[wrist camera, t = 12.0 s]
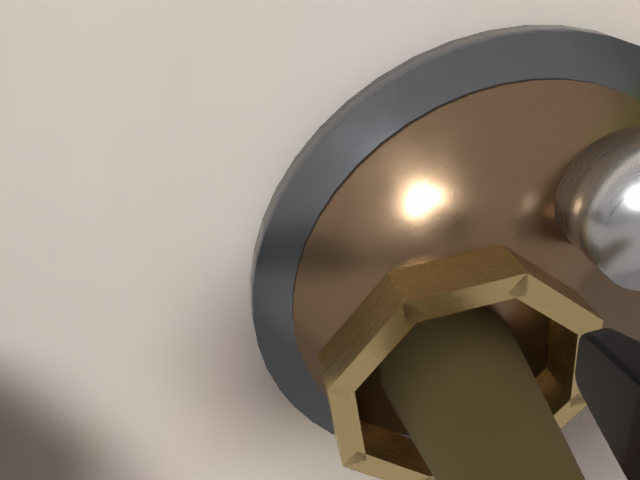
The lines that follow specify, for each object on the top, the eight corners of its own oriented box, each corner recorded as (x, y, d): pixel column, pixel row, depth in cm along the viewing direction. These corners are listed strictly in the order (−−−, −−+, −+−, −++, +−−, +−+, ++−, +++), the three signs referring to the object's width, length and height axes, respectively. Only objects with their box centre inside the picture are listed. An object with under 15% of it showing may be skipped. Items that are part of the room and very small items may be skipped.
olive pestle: (493, 409, 27) (649, 679, 18) (369, 417, 26) (468, 713, 16) (531, 305, 24) (743, 564, 15) (394, 307, 23) (531, 594, 13)
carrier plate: (298, 478, 29) (313, 562, 25) (189, 93, 18) (187, 143, 15) (667, 380, 30) (731, 446, 27) (766, -29, 20) (893, -11, 16)
